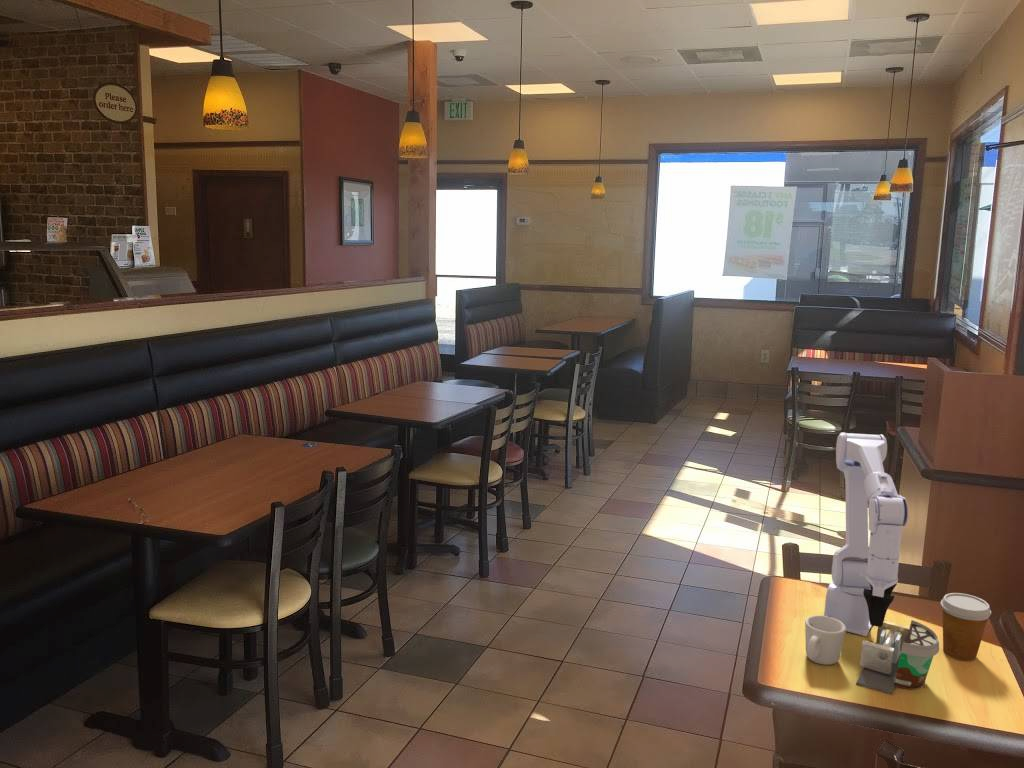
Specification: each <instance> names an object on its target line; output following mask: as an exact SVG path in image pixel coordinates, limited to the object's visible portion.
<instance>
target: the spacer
mask: <svg viewBox="0 0 1024 768" xmlns="http://www.w3.org/2000/svg"><path fill="white" fill-rule="evenodd" d="M883 629H886V630H888V631H889V630H892V631H895V632H899V633H901V634H902V637H901V645H900V651H901V649H902V645H903V642H905V640H906V637H907V634H908V632H909V629H910V625H904V624H901V623H898V622H897V623H896V622H892V621H888V620H885V619H884V622H883V625H882V627H877V630H876V641H875V643H876V644H879V643H880V635H881V633H882V631H883ZM895 642H896V640H895Z"/></svg>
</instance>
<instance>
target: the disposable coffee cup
mask: <svg viewBox="0 0 1024 768" xmlns="http://www.w3.org/2000/svg"><path fill="white" fill-rule="evenodd" d="M940 606H941V608H942V651H943V653H944V654H945V655H946V656H948V657H949V658H952V659H955V660H958V661H962V662H971V661H975V660H976V659H977V656H978V653H979V649H980V646H981V642H982V640H983V637H984V633H985V629H986V626H987V622H988V620H989V617H990V616H991V615H992V610H991V608H990V604H989V603H988V602H987V601H986V600H984V599H982V598H980V597H978V596H975V595H971V594H967V593H961V592H950V593H947V594H945V595H944V596H943V598H942V599H941V600H940Z"/></svg>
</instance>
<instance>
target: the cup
mask: <svg viewBox="0 0 1024 768" xmlns="http://www.w3.org/2000/svg"><path fill="white" fill-rule="evenodd" d="M804 627H805V629H804V630H805V631H804V633H805V653H806V656H807V657H808V658H807V659H810V660H811V661H812V662H814V663H816V664H819V665H824V666H829V665H830V666H831V665H834V664H836V663H838V662H839V659H840V657H841V653H842V648H843V645H844V644H843V643H844V640H845V636H846V632H847V631H846V627H845V625H844V624H843V623H842V622H841V621H839V620H837V619H834V618H831V617H827V616H824V615H811V616H808V617H807V618H806V619H805V623H804Z"/></svg>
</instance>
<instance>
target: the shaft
mask: <svg viewBox="0 0 1024 768" xmlns="http://www.w3.org/2000/svg"><path fill="white" fill-rule="evenodd" d="M898 633H899V632H895V631H892V630H888V632H887V633H886V638H885V641H884V643H883V645H879V644H876V642H873V641H868V640H863V641H862V643H861V651H860V652H861V653H860V662H859V666H860V667H863V668H864V667H865V668H868V669H872V670H876V671H879V672H883V673H886V674H891V671H892V664H893V655H894V648H892V647H893V644H894V642H895V641H896V638H897V636H898Z"/></svg>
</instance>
